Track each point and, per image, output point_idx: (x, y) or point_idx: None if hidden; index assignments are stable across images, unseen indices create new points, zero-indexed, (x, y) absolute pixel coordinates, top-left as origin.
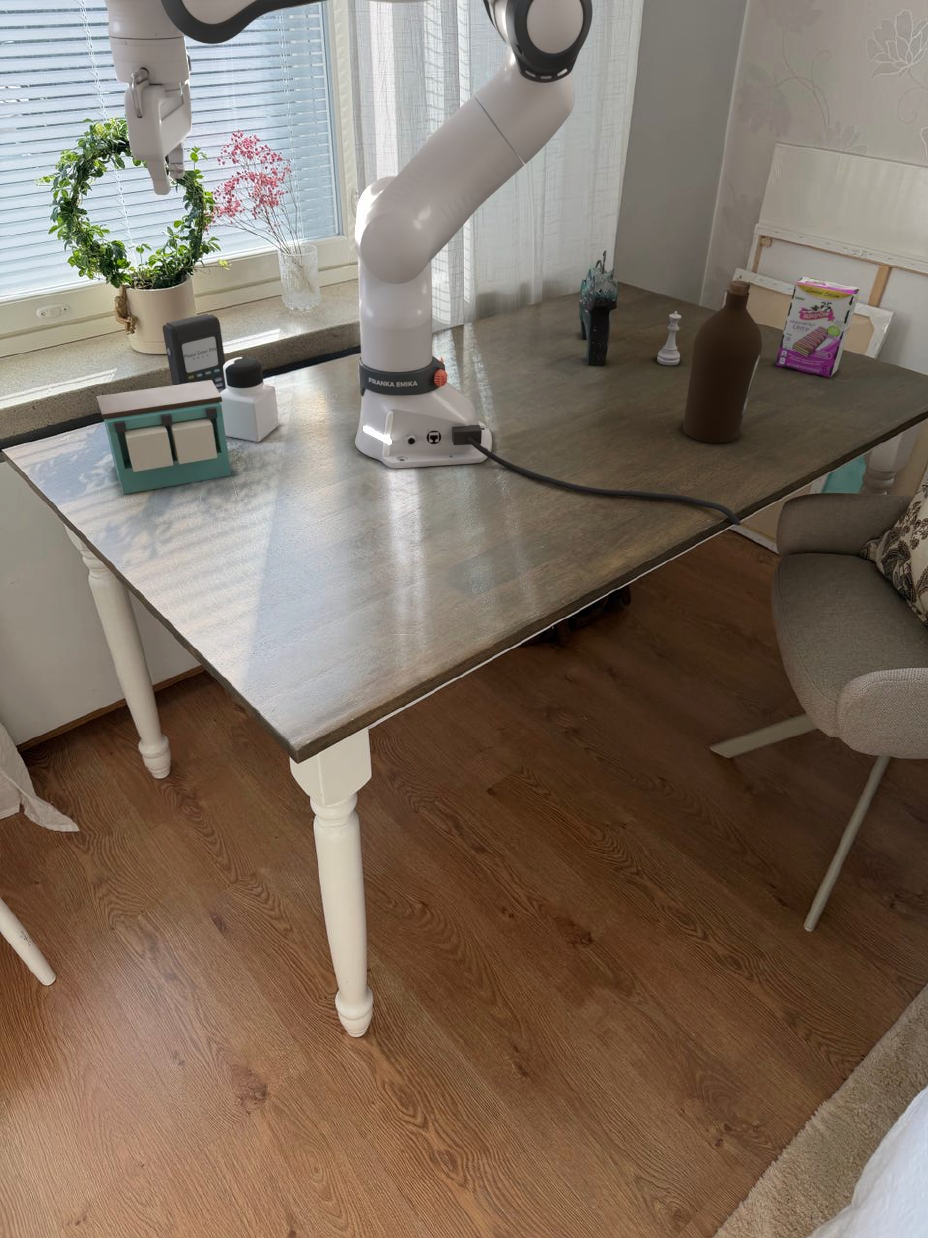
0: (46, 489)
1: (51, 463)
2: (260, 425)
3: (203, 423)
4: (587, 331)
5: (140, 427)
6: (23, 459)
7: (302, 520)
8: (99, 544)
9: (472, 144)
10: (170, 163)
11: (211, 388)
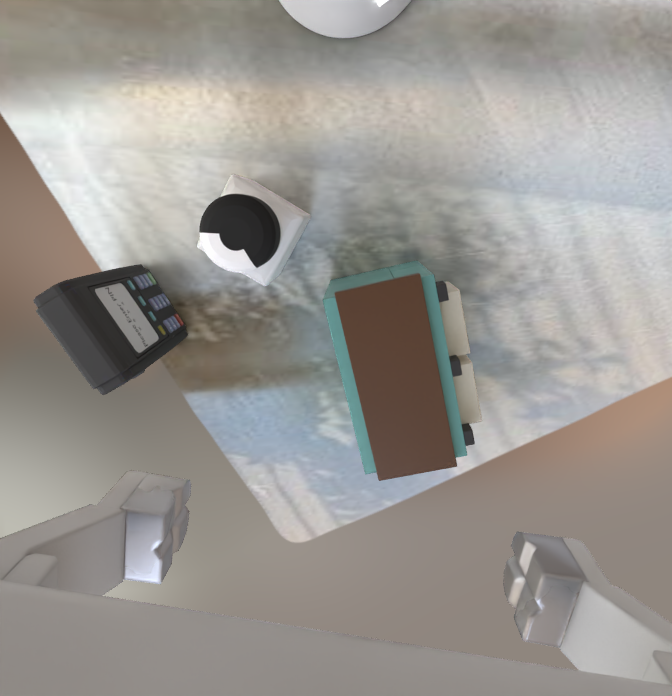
0: (409, 496)
1: (335, 498)
2: (299, 209)
3: (453, 304)
4: None
5: None
6: (318, 531)
7: (583, 153)
8: (569, 423)
9: None
10: (136, 572)
11: (377, 293)
